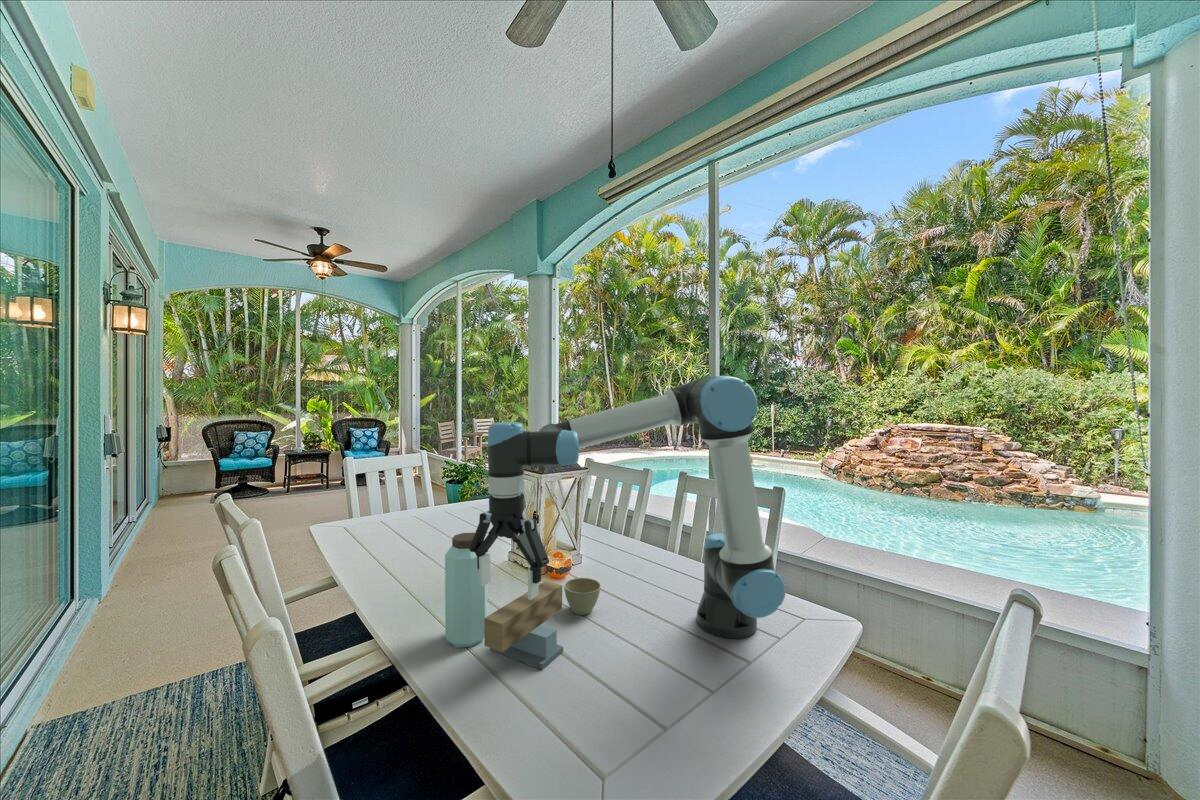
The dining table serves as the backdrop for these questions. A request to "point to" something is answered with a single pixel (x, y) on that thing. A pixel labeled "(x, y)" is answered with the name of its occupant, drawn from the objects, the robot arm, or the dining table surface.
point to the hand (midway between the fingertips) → (508, 590)
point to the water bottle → (463, 594)
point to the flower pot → (582, 594)
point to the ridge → (535, 647)
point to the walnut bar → (521, 616)
